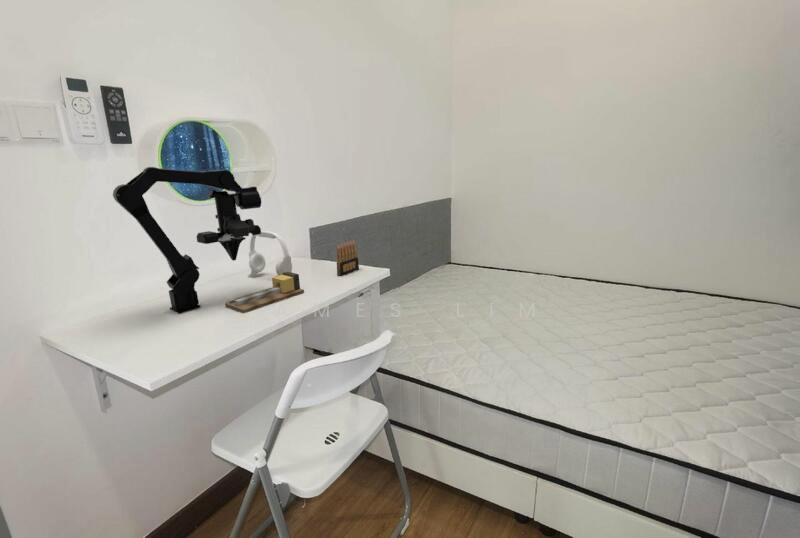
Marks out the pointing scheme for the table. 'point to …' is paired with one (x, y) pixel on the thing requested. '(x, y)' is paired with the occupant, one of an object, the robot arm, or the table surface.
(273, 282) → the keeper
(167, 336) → the table surface
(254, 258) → the headset
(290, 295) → the rail board
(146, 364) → the table surface
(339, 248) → the ammunition clip
